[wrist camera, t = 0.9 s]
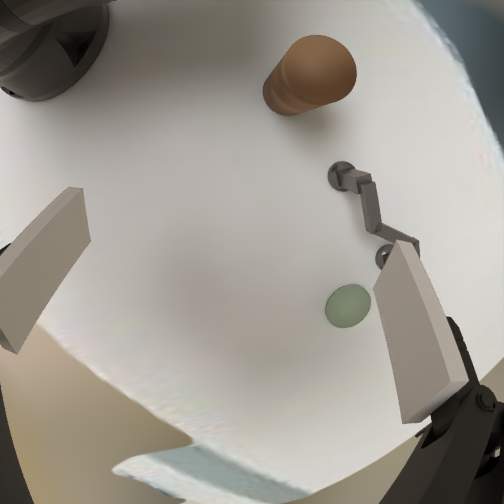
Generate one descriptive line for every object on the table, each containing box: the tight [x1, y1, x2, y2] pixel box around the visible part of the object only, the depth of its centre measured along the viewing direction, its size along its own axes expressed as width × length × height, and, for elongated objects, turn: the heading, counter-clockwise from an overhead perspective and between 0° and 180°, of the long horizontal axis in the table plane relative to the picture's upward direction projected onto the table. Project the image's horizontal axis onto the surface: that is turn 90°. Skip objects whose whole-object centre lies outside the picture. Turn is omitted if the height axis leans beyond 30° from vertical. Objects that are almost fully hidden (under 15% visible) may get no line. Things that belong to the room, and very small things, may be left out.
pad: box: [326, 285, 371, 328], centre depth 38 cm, size 6×6×1 cm
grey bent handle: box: [328, 161, 420, 269], centre depth 31 cm, size 15×4×7 cm, turn 39°
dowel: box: [263, 35, 357, 116], centre depth 24 cm, size 5×5×12 cm
